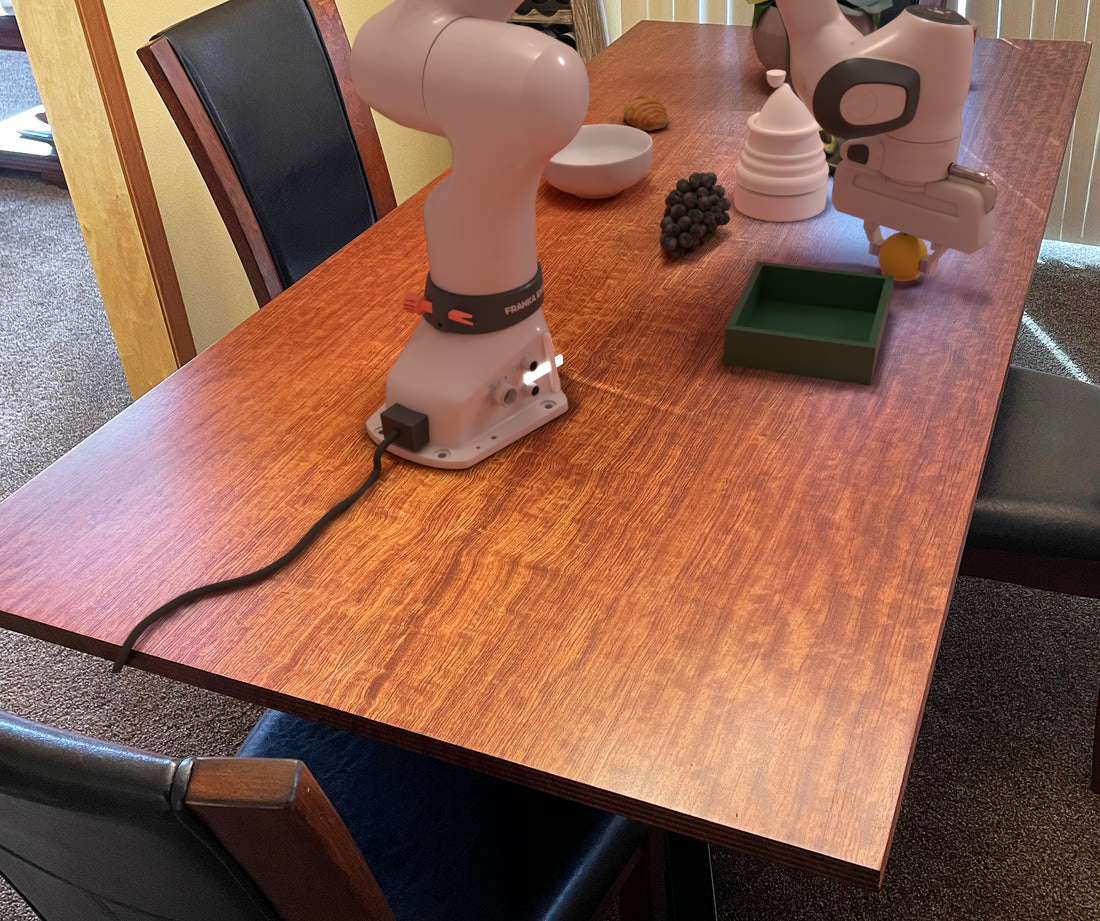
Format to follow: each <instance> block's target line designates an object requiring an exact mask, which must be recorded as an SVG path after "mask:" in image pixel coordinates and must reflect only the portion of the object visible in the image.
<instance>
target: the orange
mask: <svg viewBox="0 0 1100 921" xmlns="http://www.w3.org/2000/svg"><path fill="white" fill-rule="evenodd" d="M884 240H885V241H884V242H883V243H882V245H881V247H880V249H879V253H878V257H877V261H878V265H879V267H880V273H881V275H889V276H894V281H896V282H909V281H910V282H911V281H913V280H916V279H918V278H920V275H921V272H920V271H919V267H920V259H922V258H924V257H926V256H927V255H929V254H928V248H927V245H926V243H925V240H923V239H920V238H917V237H914V236H911V235H908V234H905V233H902V232H899V231H898V232H896V233H893V234H891V235H889V236H888V237H887V238H886V239H884Z"/></svg>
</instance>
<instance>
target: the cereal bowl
mask: <svg viewBox="0 0 1100 921" xmlns="http://www.w3.org/2000/svg"><path fill="white" fill-rule="evenodd" d="M653 153H654V141H653V138H652V136H650V134H648V133H647V132H646V131H645V130H640V129H638V128H635V127H634V126H628V125H623V124H622V125H621V124H612V123H611V124H610V123H595V124H585V125H584V124H583V125H582V127H581V128H580V130H579V132H578V133H577V135H576V136H575V137H574V139H573V140H572V141H571V142H570V143H569V144H568V145H567V146H566V147H565V148H564V149H562V150H561V151H560V152H558V153H557V154H555V155H554V156H553V157H552V158H551V160H550V161H549V162H548V164H547V165H546V167H545V169H544V171H543V174H542V177H544V179H545V180H546V181H547V182H548V183H549V184H550V185H551V186H553V187H554V188H556V189H557V190H560V191H562V192H565V193H568V194H572V195H573V196H576V197H578V198H583V199H587V200H588V199H590V200H598V199H606V198H610V197H614V196H617V195H618V194H620V193H622V191H624V190H626V189H629V188H630V187H633V186H634V185H636V184H637V183H638V182H640V181H641V180H642V179H643V178H644V177H645V175H646V174H647V172H648V171H649V169H650V168H651V164H652V161H653Z"/></svg>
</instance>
